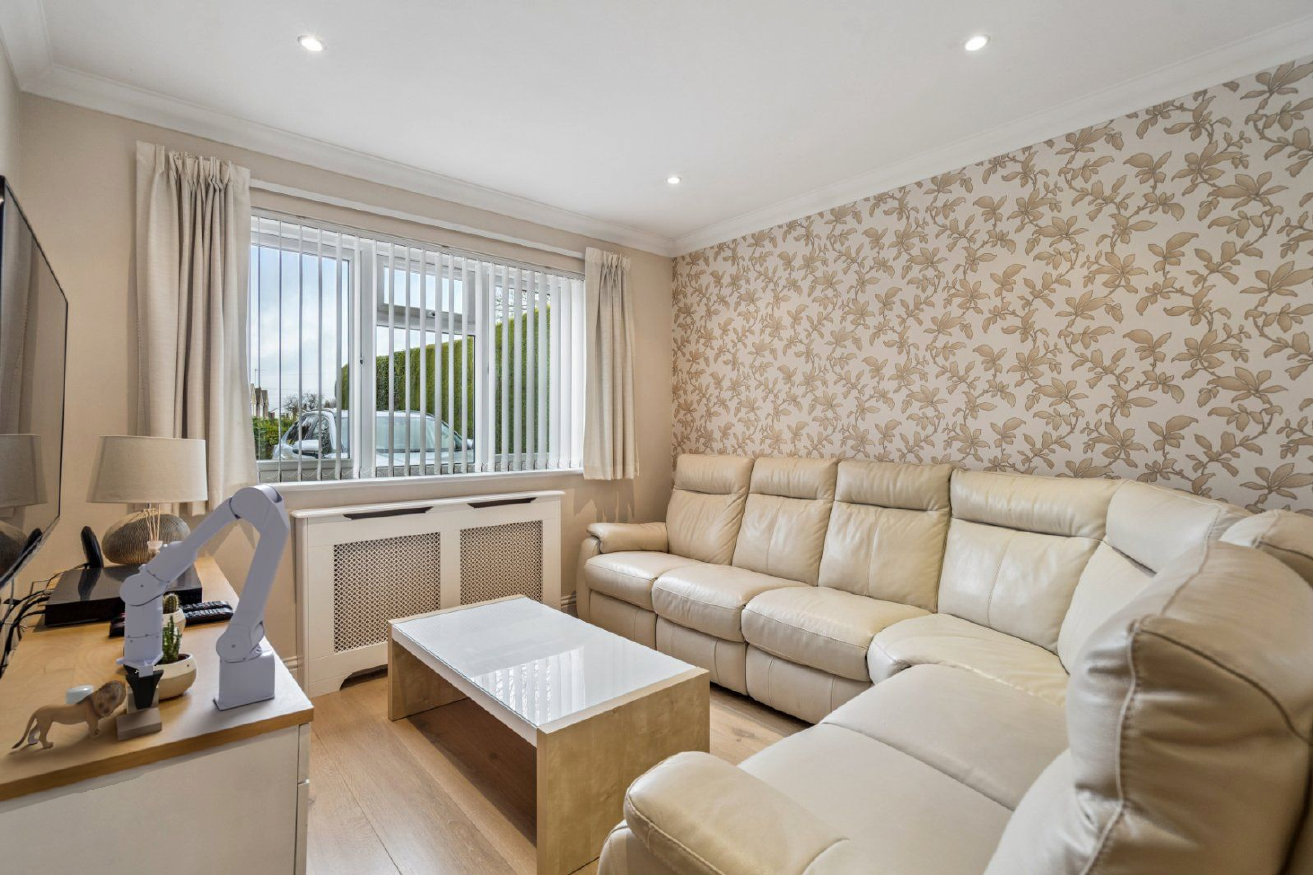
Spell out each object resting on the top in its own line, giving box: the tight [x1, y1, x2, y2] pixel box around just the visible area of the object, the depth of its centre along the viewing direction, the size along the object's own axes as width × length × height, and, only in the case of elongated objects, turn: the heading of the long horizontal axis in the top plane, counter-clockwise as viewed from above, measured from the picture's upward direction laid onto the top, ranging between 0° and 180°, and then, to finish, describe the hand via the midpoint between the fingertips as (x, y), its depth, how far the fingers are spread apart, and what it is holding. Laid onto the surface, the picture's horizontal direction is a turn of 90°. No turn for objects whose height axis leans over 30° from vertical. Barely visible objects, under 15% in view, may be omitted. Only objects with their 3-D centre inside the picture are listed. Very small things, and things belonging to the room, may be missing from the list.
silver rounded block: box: [65, 684, 94, 704], centre depth 121 cm, size 4×4×3 cm
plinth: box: [115, 706, 163, 741], centre depth 112 cm, size 6×8×2 cm
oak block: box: [126, 683, 160, 714], centre depth 120 cm, size 4×4×4 cm
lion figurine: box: [11, 679, 127, 750], centre depth 108 cm, size 15×5×9 cm, turn 130°
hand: (142, 702), depth 120 cm, fingers open, 6 cm apart
